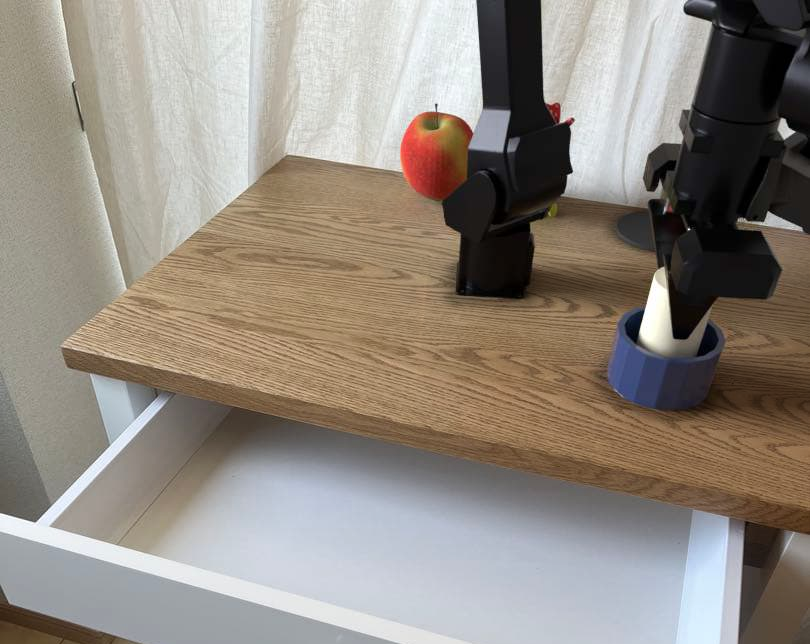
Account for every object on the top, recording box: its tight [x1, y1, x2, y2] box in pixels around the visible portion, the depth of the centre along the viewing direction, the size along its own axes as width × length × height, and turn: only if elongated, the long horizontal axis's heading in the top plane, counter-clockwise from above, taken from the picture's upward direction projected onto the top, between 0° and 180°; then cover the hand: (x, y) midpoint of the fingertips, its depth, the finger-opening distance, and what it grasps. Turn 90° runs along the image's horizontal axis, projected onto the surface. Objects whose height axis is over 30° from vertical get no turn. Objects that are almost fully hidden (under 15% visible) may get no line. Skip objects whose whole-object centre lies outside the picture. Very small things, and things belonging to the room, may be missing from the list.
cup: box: [606, 305, 727, 411], centre depth 67 cm, size 8×8×5 cm
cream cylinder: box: [636, 267, 714, 359], centre depth 64 cm, size 5×5×12 cm
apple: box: [399, 102, 474, 201], centre depth 90 cm, size 8×8×10 cm
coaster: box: [615, 209, 655, 252], centre depth 88 cm, size 9×9×1 cm
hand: (674, 320), depth 65 cm, fingers closed on cream cylinder, 5 cm apart
